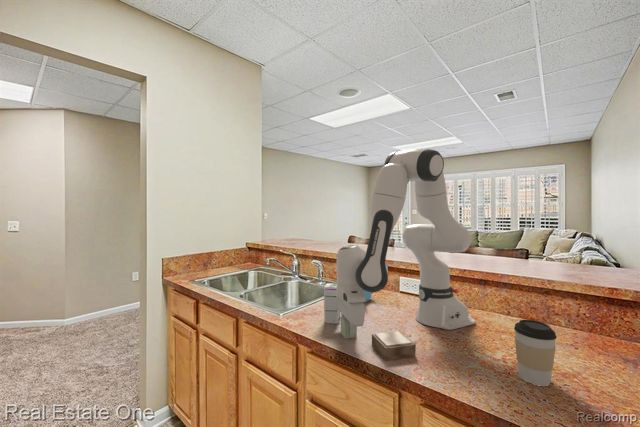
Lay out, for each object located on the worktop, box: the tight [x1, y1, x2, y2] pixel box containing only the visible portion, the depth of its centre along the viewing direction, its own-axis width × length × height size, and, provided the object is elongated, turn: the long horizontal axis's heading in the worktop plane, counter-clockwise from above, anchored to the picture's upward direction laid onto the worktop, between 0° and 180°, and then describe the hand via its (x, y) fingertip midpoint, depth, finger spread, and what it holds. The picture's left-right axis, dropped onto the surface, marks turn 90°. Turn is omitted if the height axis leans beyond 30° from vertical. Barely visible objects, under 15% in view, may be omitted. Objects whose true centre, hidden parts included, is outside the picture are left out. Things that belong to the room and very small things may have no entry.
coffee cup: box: [513, 319, 558, 386], centre depth 76 cm, size 9×9×15 cm
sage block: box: [340, 316, 358, 339], centre depth 103 cm, size 4×4×6 cm
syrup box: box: [323, 282, 341, 325], centre depth 116 cm, size 6×6×14 cm
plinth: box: [371, 330, 417, 361], centre depth 92 cm, size 10×10×4 cm
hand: (348, 329), depth 103 cm, fingers open, 6 cm apart
